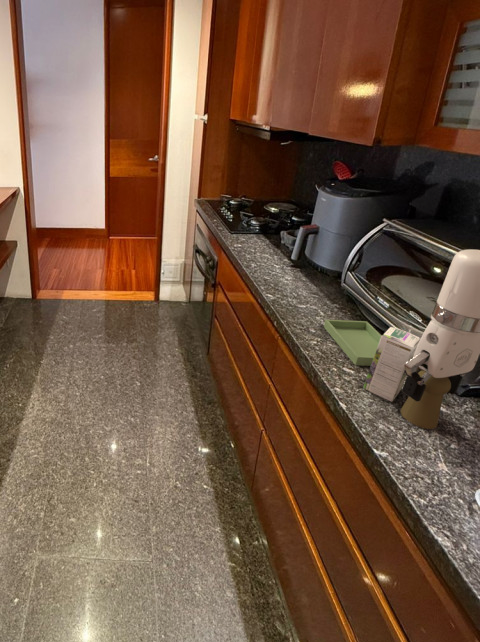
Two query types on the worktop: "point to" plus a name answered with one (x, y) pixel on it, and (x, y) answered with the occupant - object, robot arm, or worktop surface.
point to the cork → (427, 403)
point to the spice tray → (355, 339)
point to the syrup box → (391, 363)
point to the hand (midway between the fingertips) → (428, 391)
